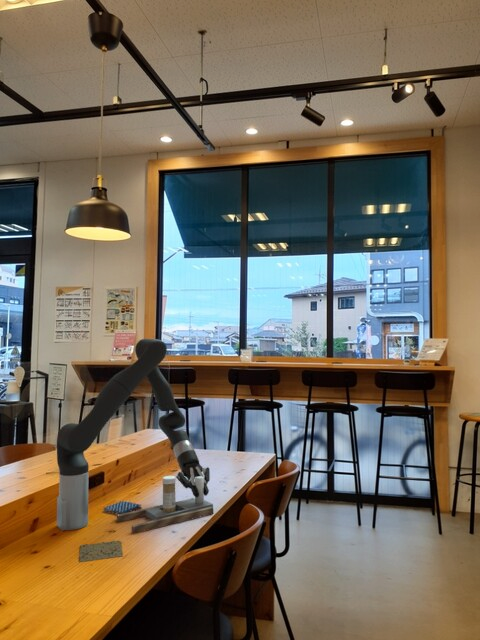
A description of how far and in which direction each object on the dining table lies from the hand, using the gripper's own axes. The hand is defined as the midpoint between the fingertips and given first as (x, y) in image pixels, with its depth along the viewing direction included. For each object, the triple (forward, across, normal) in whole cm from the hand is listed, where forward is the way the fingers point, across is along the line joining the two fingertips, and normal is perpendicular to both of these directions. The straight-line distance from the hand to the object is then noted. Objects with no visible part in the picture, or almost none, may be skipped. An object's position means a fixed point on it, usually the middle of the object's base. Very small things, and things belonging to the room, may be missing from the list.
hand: (202, 495), depth 171 cm
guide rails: (+3, -14, +5) cm, 15 cm away
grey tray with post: (+3, -8, +5) cm, 10 cm away
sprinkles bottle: (+3, -12, +5) cm, 14 cm away
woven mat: (-9, -23, +18) cm, 30 cm away
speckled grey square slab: (+13, -41, -4) cm, 44 cm away
